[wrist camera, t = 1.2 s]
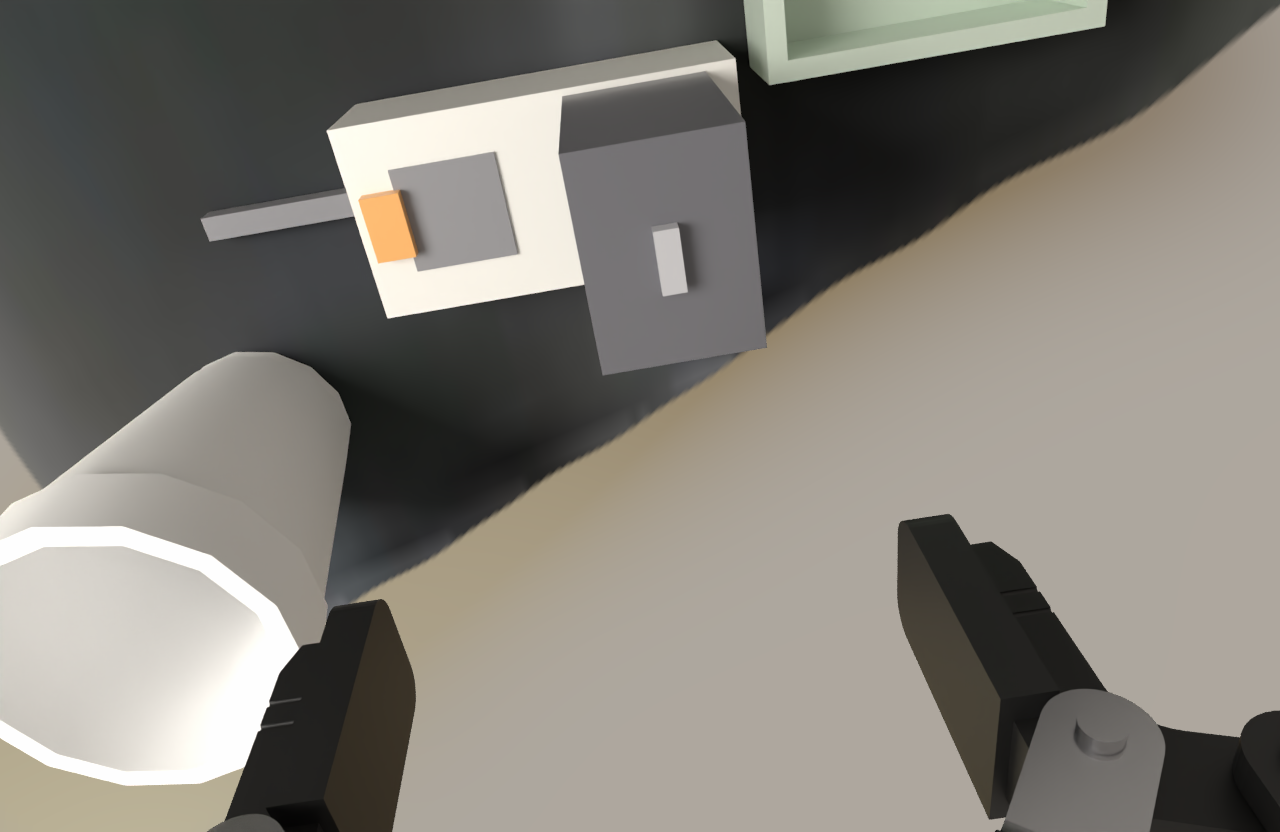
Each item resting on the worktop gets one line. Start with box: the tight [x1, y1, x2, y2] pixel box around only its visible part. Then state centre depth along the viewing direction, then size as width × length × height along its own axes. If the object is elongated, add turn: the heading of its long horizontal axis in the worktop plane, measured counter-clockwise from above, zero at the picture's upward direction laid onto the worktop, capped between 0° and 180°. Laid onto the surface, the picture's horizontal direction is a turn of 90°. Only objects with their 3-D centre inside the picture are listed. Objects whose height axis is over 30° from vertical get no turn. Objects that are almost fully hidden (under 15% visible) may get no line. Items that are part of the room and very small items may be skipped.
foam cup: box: [0, 352, 351, 786], centre depth 30 cm, size 10×9×13 cm
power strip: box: [201, 40, 741, 318], centre depth 29 cm, size 6×18×4 cm, turn 99°
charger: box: [558, 71, 767, 375], centre depth 25 cm, size 6×4×9 cm
